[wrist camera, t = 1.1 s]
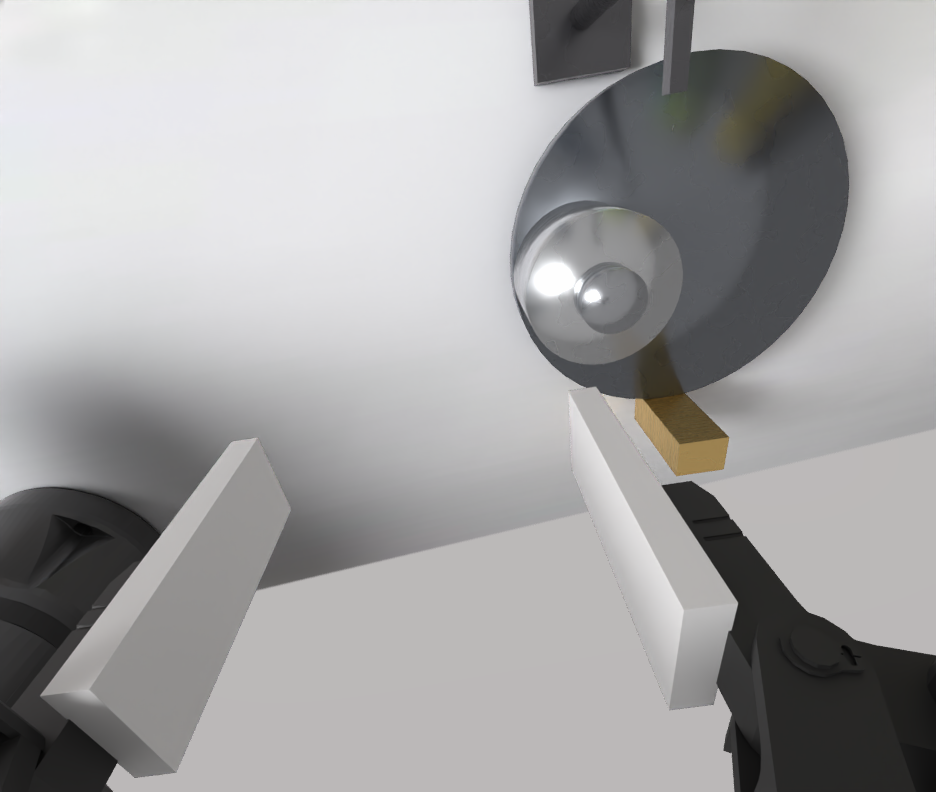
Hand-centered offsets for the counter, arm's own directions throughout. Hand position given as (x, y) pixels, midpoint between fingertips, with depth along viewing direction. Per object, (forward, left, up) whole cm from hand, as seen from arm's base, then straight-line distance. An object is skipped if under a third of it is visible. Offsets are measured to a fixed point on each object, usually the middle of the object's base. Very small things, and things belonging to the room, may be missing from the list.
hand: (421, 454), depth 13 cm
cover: (+9, 0, -17) cm, 19 cm away
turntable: (+15, -1, -18) cm, 24 cm away
